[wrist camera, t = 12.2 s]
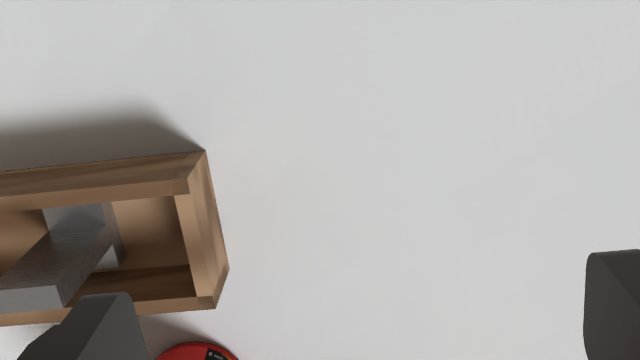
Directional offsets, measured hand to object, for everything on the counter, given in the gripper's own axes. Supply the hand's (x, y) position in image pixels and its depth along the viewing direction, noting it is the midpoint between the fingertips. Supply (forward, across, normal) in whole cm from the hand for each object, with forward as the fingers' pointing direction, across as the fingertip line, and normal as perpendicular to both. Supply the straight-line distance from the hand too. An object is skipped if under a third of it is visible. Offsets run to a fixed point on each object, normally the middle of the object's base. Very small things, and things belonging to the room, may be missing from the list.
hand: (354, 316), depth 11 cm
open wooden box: (+28, +19, +10) cm, 35 cm away
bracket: (+28, +19, +10) cm, 35 cm away
